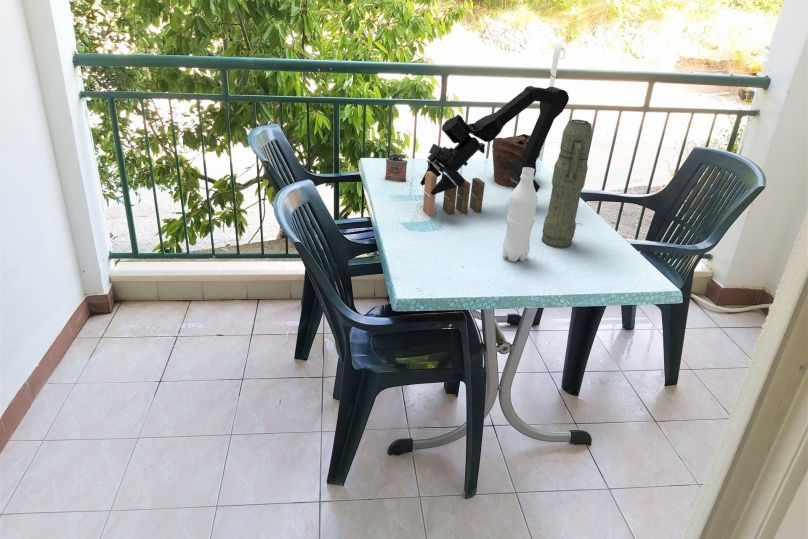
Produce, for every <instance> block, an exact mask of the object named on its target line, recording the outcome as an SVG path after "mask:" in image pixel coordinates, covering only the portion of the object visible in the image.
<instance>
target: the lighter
mask: <svg viewBox="0 0 808 539" xmlns="http://www.w3.org/2000/svg"><path fill="white" fill-rule="evenodd" d="M406 158H407V156H406V154H404V153H403V154H402V153H398V152H395V153H392V152H391V153H389V157H387V158H386V159H385V177H384V178H385V180H387V181H392V182H399V183H405V182H407V165H408V160H405V159H406Z"/></svg>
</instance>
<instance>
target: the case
mask: <svg viewBox="0 0 808 539" xmlns="http://www.w3.org/2000/svg"><path fill="white" fill-rule="evenodd" d="M530 136H531V134H530V135H529V134H526V133H523V134H520V135H513V136H508V137H496V138H495V139H494V140H492V146H491V150H492V151H491V153H492V162H493V164H492V166H493V180H494V182H495V183H497V184H498V185H501V186H505V187H511V188H515V187H516V186H514V185H513V183H512V180H511V179H510V176H509V173H510V171H509V169H510V167H511V166H512V162H513V160H514V159H515V160H518V159H519V158H521V157H522V155H523V153H524V150H525V148H526V146H527V143H528V141H529V138H530ZM540 155H541V153H540V154H539V156H538V158H537V160H538V159H539V158H540Z"/></svg>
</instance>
